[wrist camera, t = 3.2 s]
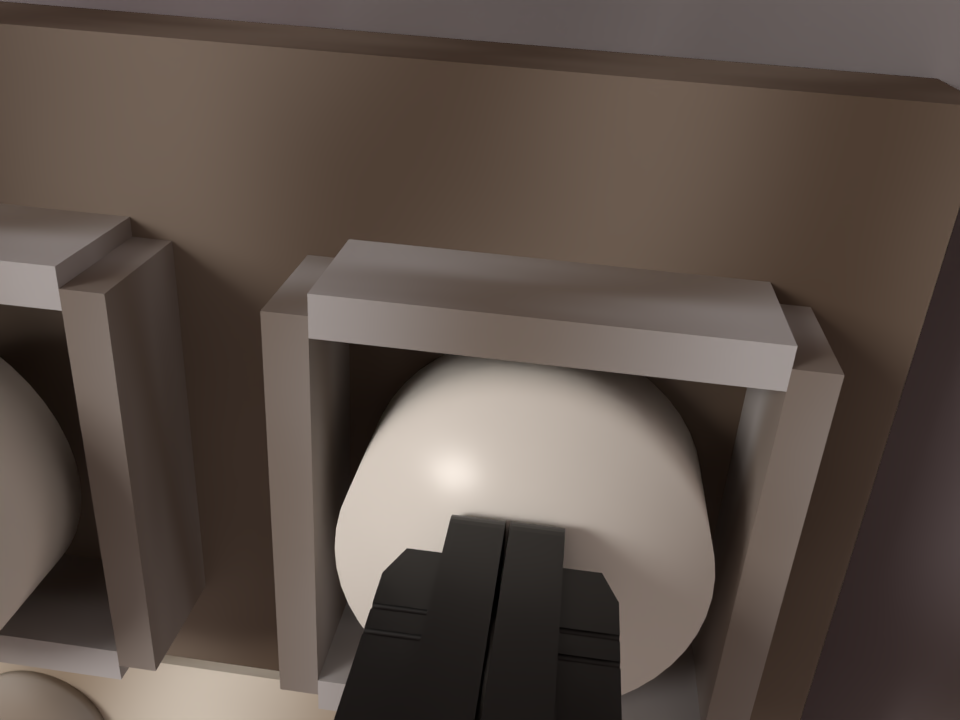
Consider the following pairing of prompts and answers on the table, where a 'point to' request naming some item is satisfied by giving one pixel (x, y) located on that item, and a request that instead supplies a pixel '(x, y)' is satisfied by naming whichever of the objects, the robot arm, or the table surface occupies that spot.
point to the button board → (433, 322)
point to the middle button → (32, 491)
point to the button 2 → (542, 488)
